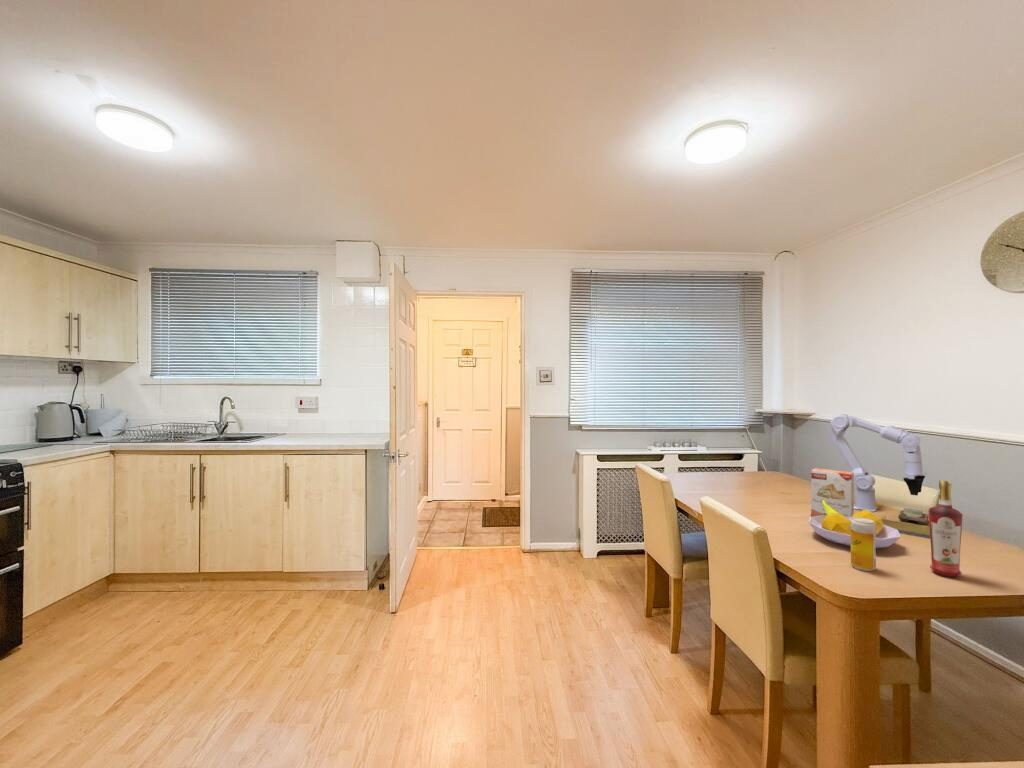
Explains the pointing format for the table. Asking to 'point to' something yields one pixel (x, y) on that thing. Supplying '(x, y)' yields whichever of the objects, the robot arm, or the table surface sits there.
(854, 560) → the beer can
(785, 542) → the table surface
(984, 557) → the table surface
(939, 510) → the liquor
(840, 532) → the fruit bowl
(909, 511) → the square caster platform
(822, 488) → the cracker box
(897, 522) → the plate
